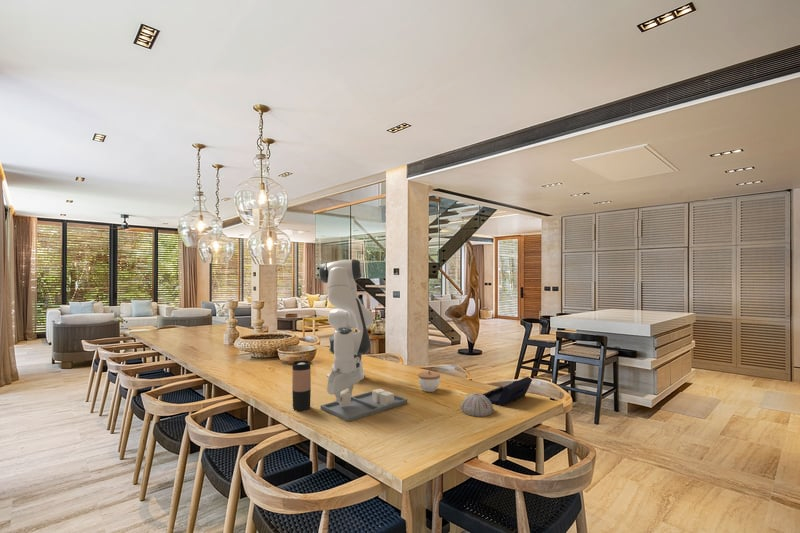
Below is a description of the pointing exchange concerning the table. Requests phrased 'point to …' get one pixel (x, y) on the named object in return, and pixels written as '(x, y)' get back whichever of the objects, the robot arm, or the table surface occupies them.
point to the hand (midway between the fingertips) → (344, 398)
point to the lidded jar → (429, 381)
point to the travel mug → (301, 385)
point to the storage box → (509, 392)
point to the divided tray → (360, 407)
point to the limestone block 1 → (345, 398)
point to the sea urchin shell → (477, 405)
